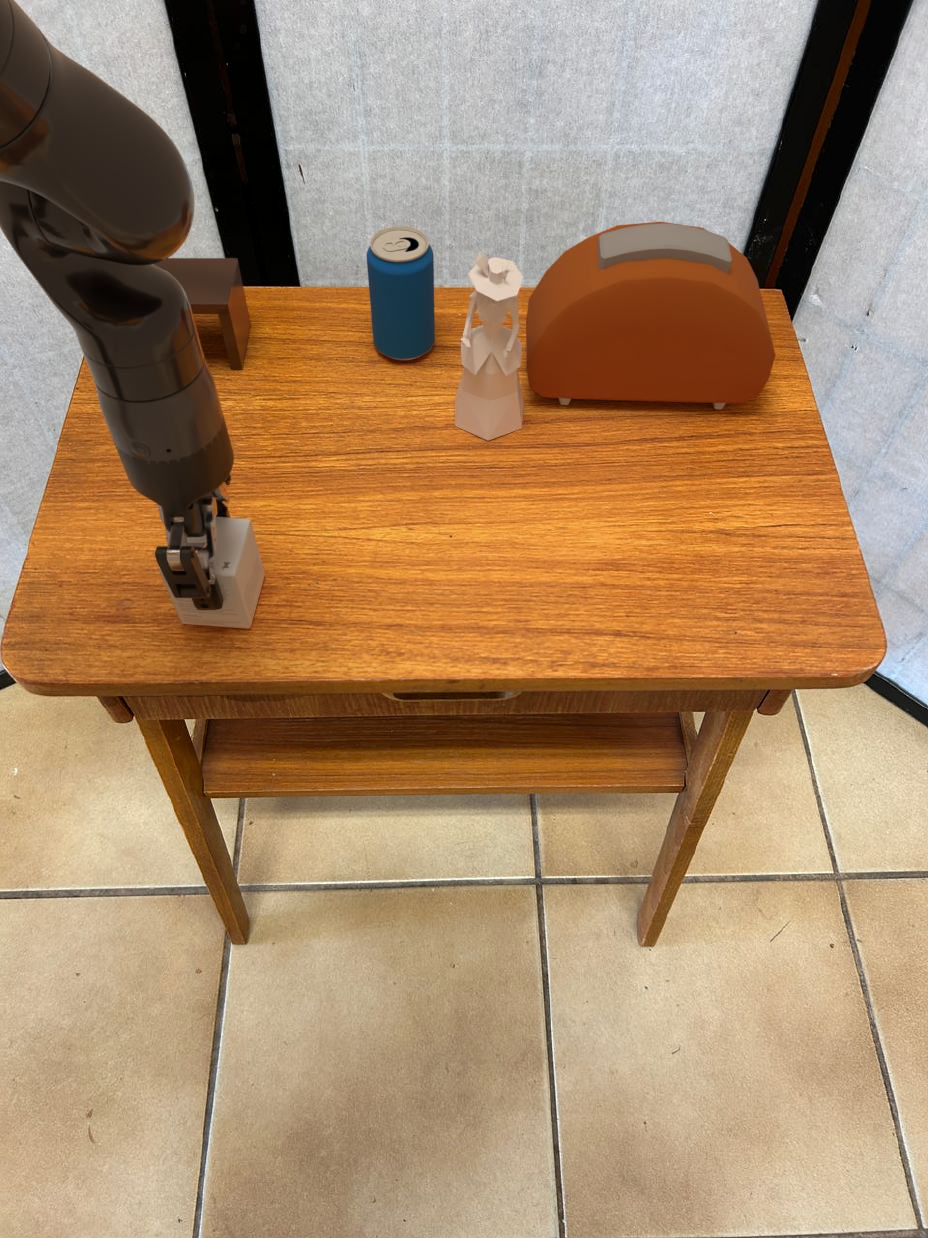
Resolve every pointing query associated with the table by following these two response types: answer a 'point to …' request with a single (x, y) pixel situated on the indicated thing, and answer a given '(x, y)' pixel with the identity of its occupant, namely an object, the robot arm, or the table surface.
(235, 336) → the shelf
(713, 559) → the table surface
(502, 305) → the figurine
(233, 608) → the product box
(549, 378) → the orange toaster
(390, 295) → the beverage can
